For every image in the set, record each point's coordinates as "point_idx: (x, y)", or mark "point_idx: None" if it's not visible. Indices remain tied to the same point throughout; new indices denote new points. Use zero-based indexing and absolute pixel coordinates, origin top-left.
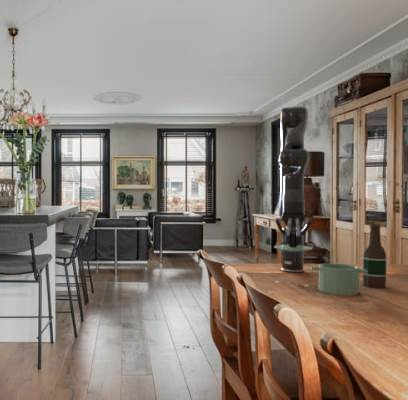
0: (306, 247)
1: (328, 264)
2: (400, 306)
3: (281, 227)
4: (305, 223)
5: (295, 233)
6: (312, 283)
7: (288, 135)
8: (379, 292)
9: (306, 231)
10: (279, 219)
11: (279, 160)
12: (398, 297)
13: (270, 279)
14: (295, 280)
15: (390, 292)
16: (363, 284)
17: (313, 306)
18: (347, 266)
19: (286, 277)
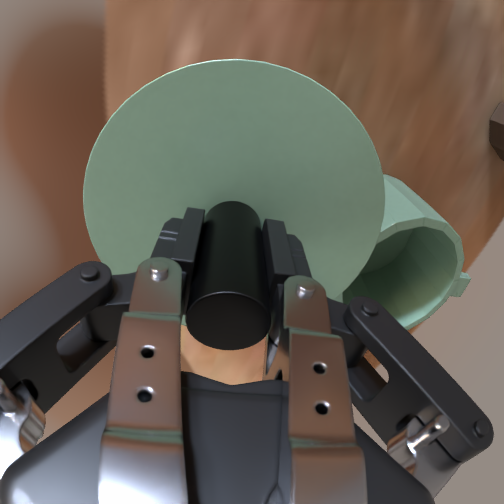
0: (341, 235)
1: (402, 229)
2: (412, 330)
3: (69, 382)
4: (393, 449)
5: (249, 344)
6: (342, 75)
7: None
8: (472, 210)
9: (364, 377)
10: (4, 457)
11: None
12: (470, 258)
13: (166, 16)
14: (284, 15)
15: (493, 207)
16: (491, 120)
17: (233, 365)
18: (452, 246)
19: None
